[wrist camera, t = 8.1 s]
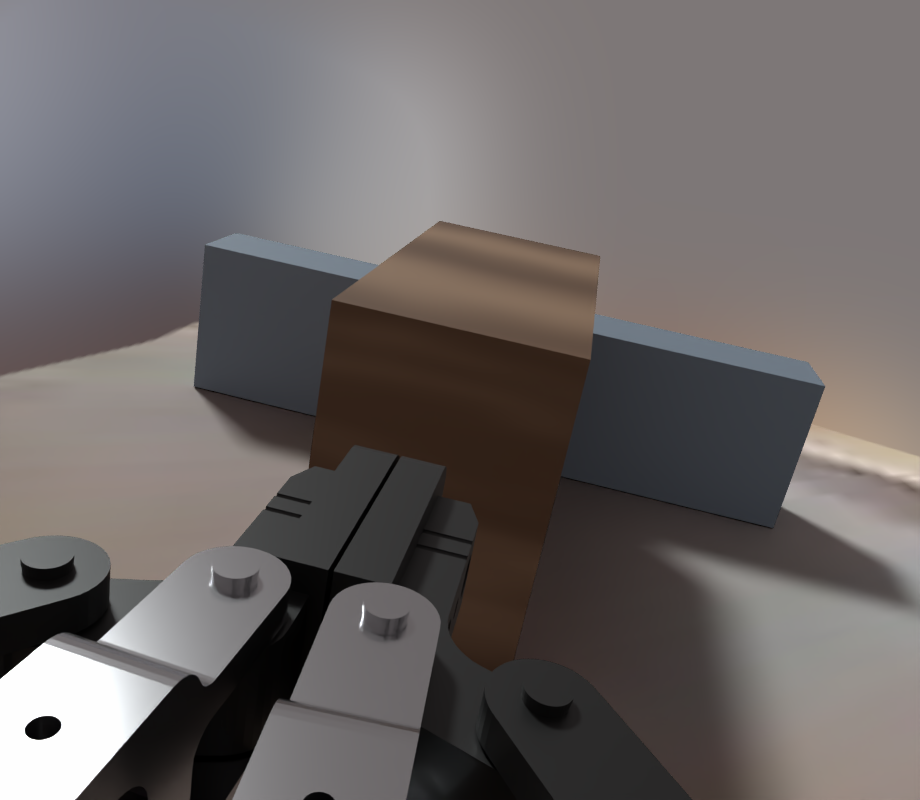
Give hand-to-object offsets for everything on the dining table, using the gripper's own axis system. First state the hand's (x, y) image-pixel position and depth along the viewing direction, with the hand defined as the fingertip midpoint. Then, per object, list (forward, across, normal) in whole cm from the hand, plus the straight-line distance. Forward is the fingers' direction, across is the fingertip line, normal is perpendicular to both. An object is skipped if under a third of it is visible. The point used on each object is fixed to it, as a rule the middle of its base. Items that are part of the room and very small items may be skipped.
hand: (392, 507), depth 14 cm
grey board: (+21, 0, +8) cm, 22 cm away
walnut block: (+13, 0, +8) cm, 15 cm away
